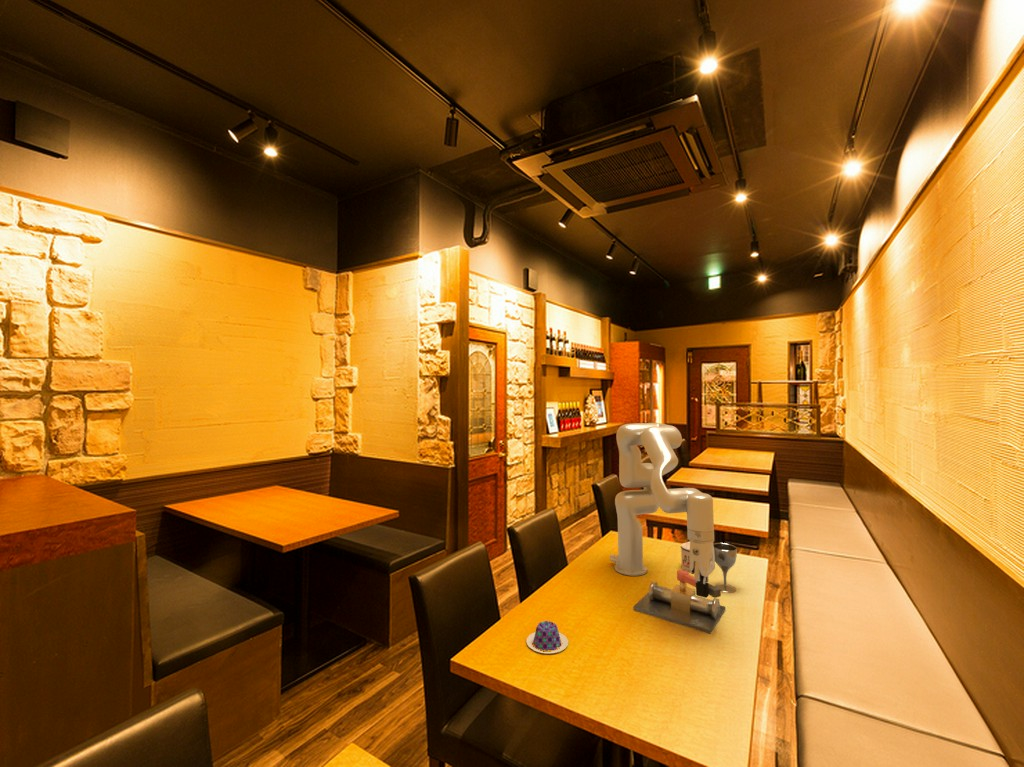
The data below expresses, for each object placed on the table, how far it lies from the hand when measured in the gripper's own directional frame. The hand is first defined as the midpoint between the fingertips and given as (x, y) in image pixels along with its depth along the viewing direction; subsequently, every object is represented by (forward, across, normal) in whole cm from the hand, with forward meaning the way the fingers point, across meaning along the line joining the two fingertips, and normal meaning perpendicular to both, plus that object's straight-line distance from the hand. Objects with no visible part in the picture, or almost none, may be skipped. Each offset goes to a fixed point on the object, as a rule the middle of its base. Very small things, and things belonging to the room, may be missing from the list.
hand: (702, 595), depth 136 cm
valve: (+10, +7, +10) cm, 15 cm away
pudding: (+10, -35, +33) cm, 49 cm away
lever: (0, +5, +3) cm, 6 cm away
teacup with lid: (+9, +44, +15) cm, 47 cm away
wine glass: (+10, +33, +2) cm, 35 cm away
